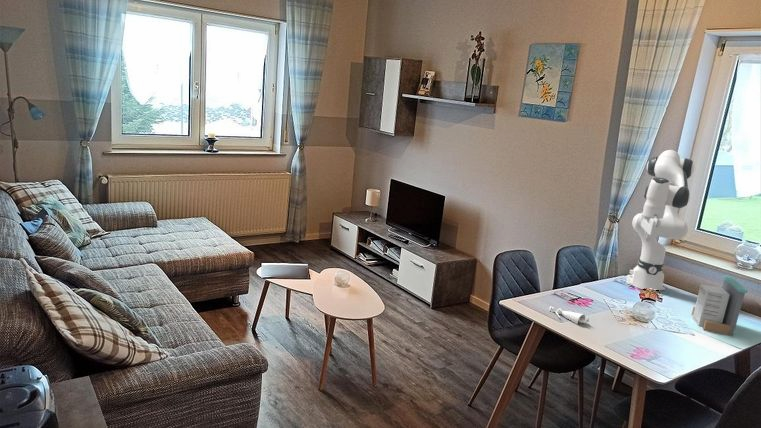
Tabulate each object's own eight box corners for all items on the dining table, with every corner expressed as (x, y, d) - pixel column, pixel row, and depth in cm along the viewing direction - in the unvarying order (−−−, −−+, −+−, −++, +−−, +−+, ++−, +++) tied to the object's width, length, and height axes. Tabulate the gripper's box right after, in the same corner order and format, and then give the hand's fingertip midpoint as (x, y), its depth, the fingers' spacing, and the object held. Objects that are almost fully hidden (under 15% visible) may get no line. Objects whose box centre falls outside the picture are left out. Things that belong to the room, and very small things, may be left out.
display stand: (691, 314, 252) (702, 271, 247) (719, 319, 250) (730, 276, 245) (704, 330, 234) (716, 285, 229) (734, 336, 232) (747, 290, 227)
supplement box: (721, 330, 237) (730, 294, 233) (698, 326, 239) (707, 290, 235) (713, 321, 246) (722, 287, 242) (691, 317, 248) (700, 283, 244)
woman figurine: (580, 319, 222) (542, 306, 235) (579, 329, 222) (541, 315, 236) (594, 313, 229) (557, 301, 242) (593, 323, 230) (555, 310, 243)
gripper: (666, 218, 238) (659, 248, 242) (655, 209, 258) (649, 237, 261) (651, 216, 240) (644, 245, 243) (641, 207, 259) (635, 235, 262)
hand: (646, 241), depth 252 cm, fingers closed
